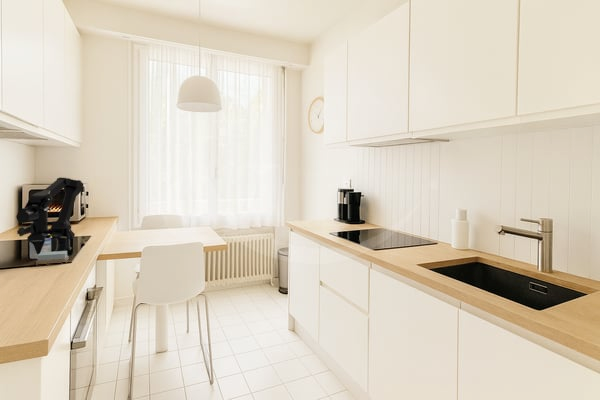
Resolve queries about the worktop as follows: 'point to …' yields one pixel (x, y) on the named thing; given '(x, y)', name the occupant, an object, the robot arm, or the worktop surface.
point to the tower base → (52, 261)
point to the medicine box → (45, 249)
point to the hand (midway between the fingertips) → (40, 251)
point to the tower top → (52, 255)
